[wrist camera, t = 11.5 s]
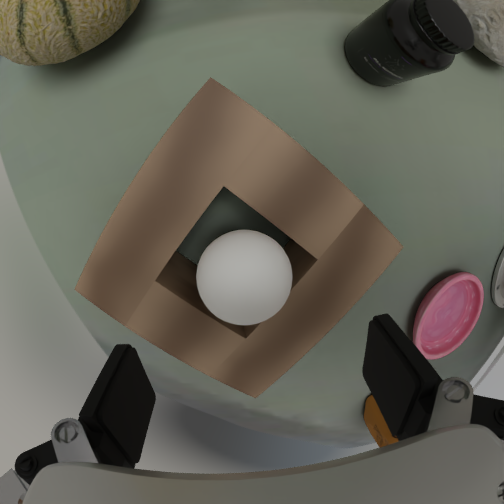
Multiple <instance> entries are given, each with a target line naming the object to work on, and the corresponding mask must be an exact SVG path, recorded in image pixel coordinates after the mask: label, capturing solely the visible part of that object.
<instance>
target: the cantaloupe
mask: <svg viewBox="0 0 504 504" xmlns="http://www.w3.org/2000/svg"><path fill="white" fill-rule="evenodd" d="M139 1H140V0H0V55H2V56H4V57H6V58H7V59H10V60H11V61H13V62H15V63H18V64H24V65H27V66H30V65H33V66H41V65H45V64H57V63H60V62H65V61H67V60H69V59H72V58H74V57H76V56H78V55H80V54H81V53H84V52H86V51H88V50H90V49H92V48H94V47H96V46H97V45H99V44H101V43H102V42H104V41H105V40H107V39H108V38H109V37H111V36H112V35H113V34H114V33H115V32H116V31H117V30H118V29H119V28H121V26H122V25H123V23H124V22H125V21H126V20H127V19H128V18H129V16H130V15H131V14H132V13H133V12H134V10H135V9H136V7H137V5H138V3H139Z"/></svg>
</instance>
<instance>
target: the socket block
mask: <svg viewBox="0 0 504 504" xmlns="http://www.w3.org/2000/svg"><path fill="white" fill-rule="evenodd" d="M223 186H224V187H226V188H227V189H228V190H230V191H231V192H232V193H234V194H235V195H236V196H238V197H239V198H240V199H241V200H243V201H244V202H245V203H247V204H248V205H249V206H251V207H252V208H253V209H254V210H256V211H257V212H258V213H260V214H261V215H262V216H264V217H265V218H266V219H267V220H269V221H270V222H271V223H272V224H274V225H275V226H276V227H278V228H279V229H280V230H281V231H283V232H284V233H285V234H286V235H288V236H289V237H290V238H291V240H290V241H289V242H288V243H287V244H286V246H285V247H284V248H283V250H284V251H285V253H286V254H287V256H288V258H289V261H290V264H291V268H292V287H291V290H290V294H289V296H288V298H287V300H286V302H285V304H284V305H283V307H282V308H281V309H280V310H279V311H278V312H277V313H276V314H275V315H274V316H272V317H271V318H269V319H267V320H265V321H263V322H260V323H258V324H253V325H236V324H232V323H229V322H226V321H223V320H222V319H220V318H218V317H216V316H215V315H214V314H213V313H211V312H210V310H209V309H208V308H207V307H206V306H205V304H204V302H203V301H202V299H201V297H200V294H199V291H198V288H197V280H196V273H197V265H195V264H194V263H193V262H191V261H190V260H188V259H187V258H185V257H184V256H183V255H181V254H180V253H178V252H177V251H176V250H177V248H178V247H179V245H180V244H181V242H182V241H183V240H184V238H185V237H186V236H187V234H188V233H189V231H190V230H191V229H192V227H193V226H194V225H195V223H196V222H197V221H198V219H199V218H200V216H201V215H202V214H203V212H204V211H205V210H206V208H207V207H208V206H209V204H210V203H211V202H212V201H213V199H214V198H215V197H216V195H217V194H218V193H219V191H220V190H221V189H222V188H223ZM402 248H403V246H402V245H401V244H400V242H399V241H398V240H397V239H396V238H395V237H394V236H393V235H392V233H391V232H390V231H389V230H388V229H387V228H386V227H385V226H384V225H383V224H382V223H381V221H380V220H379V219H378V218H377V217H376V216H375V215H374V214H373V213H372V212H371V211H370V210H369V209H368V208H367V207H366V206H365V205H364V204H363V203H362V202H361V201H360V200H359V199H358V198H357V197H356V196H355V195H354V194H353V193H352V192H351V191H350V190H349V189H348V188H347V187H346V186H345V185H344V184H343V183H342V182H341V181H340V180H339V179H338V178H337V177H335V176H334V175H333V174H332V173H331V172H330V171H329V170H328V169H327V168H326V167H325V166H324V165H322V164H321V163H320V162H319V161H318V160H317V159H316V158H315V157H313V156H312V155H311V154H310V153H309V152H308V151H307V150H305V149H304V148H303V147H302V146H301V145H300V144H298V143H297V142H296V141H295V140H294V139H292V138H291V137H290V136H289V135H288V134H286V133H285V132H284V131H283V130H282V129H280V128H279V127H278V126H277V125H275V124H274V123H273V122H272V121H270V120H269V119H268V118H266V117H265V116H264V115H263V114H261V113H260V112H259V111H257V110H256V109H255V108H253V107H252V106H251V105H249V104H248V103H247V102H245V101H244V100H242V99H241V98H240V97H238V96H237V95H236V94H234V93H233V92H231V91H230V90H228V89H227V88H226V87H224V86H223V85H221V84H220V83H218V82H217V81H215V80H214V79H212V78H210V79H209V80H208V81H207V82H206V83H205V84H204V86H203V87H202V88H201V89H200V90H199V91H198V92H197V94H196V95H195V96H194V97H193V98H192V100H191V101H190V102H189V103H188V105H187V106H186V107H185V108H184V109H183V111H182V112H181V113H180V114H179V116H178V117H177V118H176V120H175V121H174V122H173V123H172V125H171V126H170V127H169V129H168V130H167V131H166V133H165V134H164V135H163V137H162V138H161V140H160V141H159V142H158V144H157V145H156V147H155V148H154V149H153V151H152V152H151V154H150V155H149V157H148V158H147V159H146V161H145V162H144V164H143V165H142V167H141V168H140V170H139V171H138V173H137V175H136V176H135V178H134V179H133V181H132V182H131V184H130V185H129V187H128V189H127V190H126V192H125V194H124V195H123V197H122V198H121V200H120V202H119V204H118V205H117V207H116V209H115V210H114V212H113V214H112V216H111V217H110V219H109V221H108V223H107V225H106V226H105V228H104V230H103V232H102V234H101V236H100V238H99V239H98V241H97V243H96V245H95V247H94V249H93V251H92V253H91V255H90V257H89V259H88V261H87V263H86V265H85V267H84V270H83V272H82V274H81V276H80V278H79V280H78V283H77V285H76V287H75V290H76V291H77V292H78V293H80V294H81V295H82V296H84V297H85V298H86V299H88V300H89V301H90V302H92V303H93V304H94V305H96V306H97V307H98V308H100V309H101V310H102V311H104V312H105V313H107V314H108V315H110V316H111V317H112V318H114V319H115V320H117V321H118V322H120V323H121V324H123V325H124V326H126V327H127V328H129V329H130V330H132V331H133V332H135V333H136V334H138V335H139V336H141V337H142V338H144V339H146V340H147V341H149V342H150V343H152V344H154V345H155V346H157V347H158V348H160V349H162V350H163V351H165V352H167V353H169V354H170V355H172V356H174V357H175V358H177V359H179V360H181V361H182V362H184V363H186V364H188V365H190V366H191V367H193V368H195V369H197V370H199V371H201V372H203V373H204V374H206V375H208V376H210V377H212V378H214V379H216V380H218V381H220V382H222V383H224V384H226V385H228V386H230V387H232V388H234V389H237V390H239V391H241V392H243V393H245V394H247V395H249V396H252V397H254V398H256V397H258V396H259V395H260V394H261V393H262V392H264V391H265V390H266V389H267V388H268V387H270V386H271V385H272V384H273V383H274V382H275V381H276V380H278V379H279V378H280V377H281V376H282V375H283V374H284V373H286V372H287V371H288V370H289V369H290V368H291V367H292V366H293V365H294V364H295V363H297V362H298V361H299V360H300V359H301V358H302V357H303V356H304V355H305V354H306V353H307V352H308V351H309V350H310V349H311V348H312V347H314V346H315V345H316V344H317V343H318V342H319V341H320V340H321V339H322V338H323V337H324V336H325V335H326V334H327V333H328V332H329V331H330V330H331V329H332V328H333V327H334V326H335V325H336V324H337V323H338V322H339V320H340V319H341V318H342V317H343V316H344V315H345V314H346V313H347V312H348V311H349V310H350V309H351V308H352V307H353V306H354V305H355V303H356V302H357V301H358V300H359V299H360V298H361V297H362V296H363V295H364V294H365V292H366V291H367V290H368V289H369V288H370V287H371V286H372V285H373V283H374V282H375V281H376V280H377V279H378V278H379V276H380V275H381V274H382V273H383V272H384V271H385V269H386V268H387V267H388V266H389V265H390V263H391V262H392V261H393V260H394V258H395V257H396V256H397V255H398V253H399V252H400V251H401V250H402Z"/></svg>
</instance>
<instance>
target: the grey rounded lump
mask: <svg viewBox="0 0 504 504" xmlns="http://www.w3.org/2000/svg"><path fill="white" fill-rule="evenodd" d="M453 1H454V2H455V3H456V4H458V6H459V7H460V8H461V9H462V10H463V12H464V13H465V14H466V16H467V18H468V19H469V21H470V23H471V25H472V29H473V33H474V39H475V40H474V44H473V45H474V46H475V47H476V48H477V49H478V50H479V51H481V52H483V53H484V54H485V55H486V56H487V57H489V58H490V59H491V60H492V61H495V62H496V63H497V64H499V65H501V66H503V67H504V0H453Z"/></svg>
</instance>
